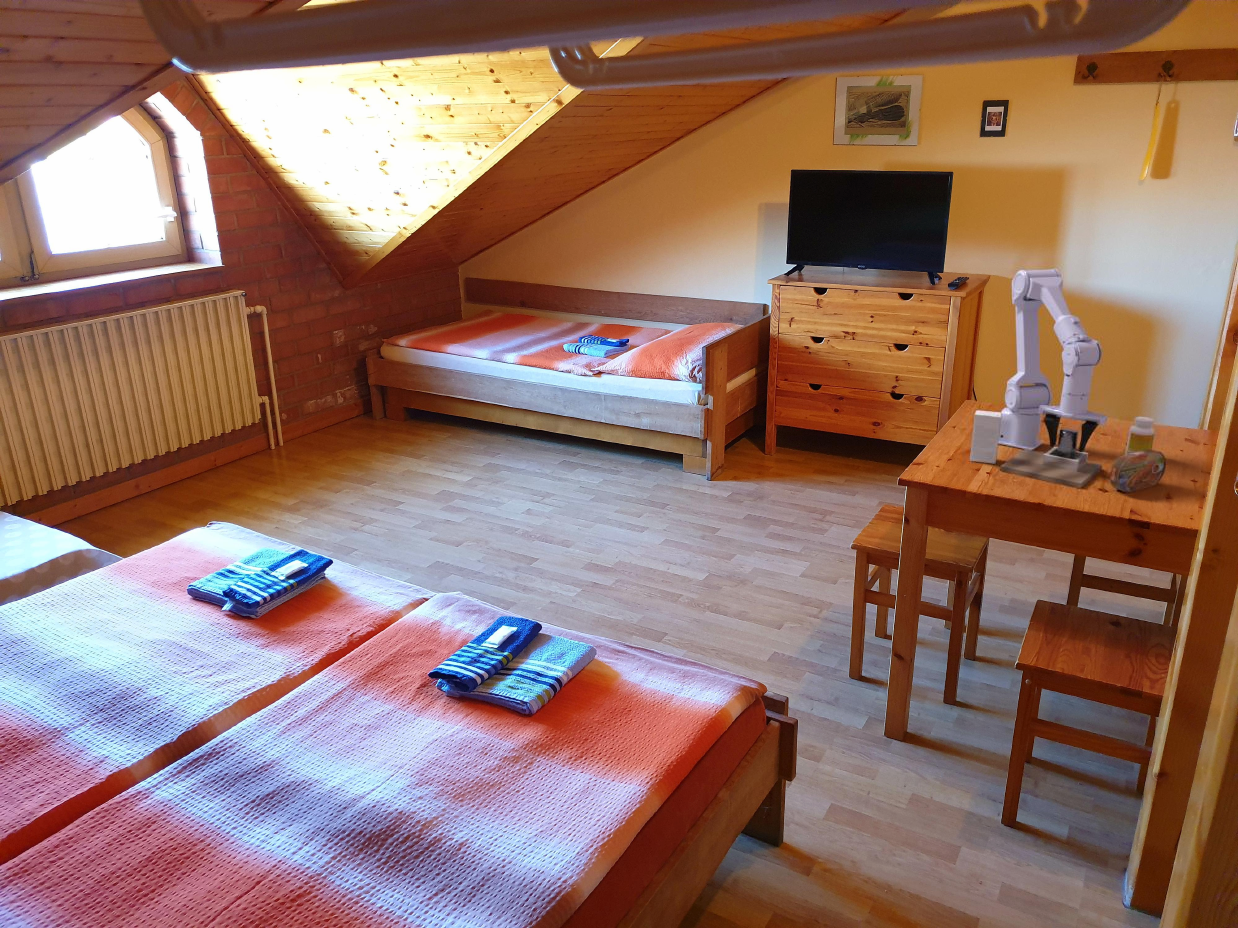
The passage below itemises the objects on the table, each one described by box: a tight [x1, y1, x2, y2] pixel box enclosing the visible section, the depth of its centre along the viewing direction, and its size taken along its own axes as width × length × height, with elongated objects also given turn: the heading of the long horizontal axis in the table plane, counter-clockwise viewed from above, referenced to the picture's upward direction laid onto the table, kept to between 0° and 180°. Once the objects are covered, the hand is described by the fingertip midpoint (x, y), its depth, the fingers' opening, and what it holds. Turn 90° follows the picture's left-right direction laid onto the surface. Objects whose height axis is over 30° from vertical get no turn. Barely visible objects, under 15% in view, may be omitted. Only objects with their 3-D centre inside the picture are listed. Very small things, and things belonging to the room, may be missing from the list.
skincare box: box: [969, 409, 1002, 465], centre depth 222 cm, size 6×4×12 cm
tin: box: [1109, 449, 1167, 493], centre depth 204 cm, size 15×3×8 cm, turn 114°
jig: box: [999, 446, 1103, 489], centre depth 216 cm, size 18×16×4 cm
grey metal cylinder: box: [1056, 428, 1080, 460], centre depth 216 cm, size 4×4×8 cm
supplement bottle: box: [1124, 416, 1156, 455], centre depth 223 cm, size 5×5×10 cm
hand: (1066, 448), depth 216 cm, fingers open, 6 cm apart
